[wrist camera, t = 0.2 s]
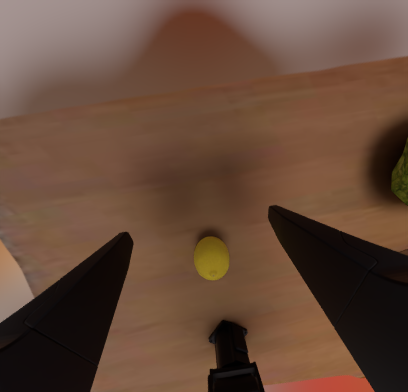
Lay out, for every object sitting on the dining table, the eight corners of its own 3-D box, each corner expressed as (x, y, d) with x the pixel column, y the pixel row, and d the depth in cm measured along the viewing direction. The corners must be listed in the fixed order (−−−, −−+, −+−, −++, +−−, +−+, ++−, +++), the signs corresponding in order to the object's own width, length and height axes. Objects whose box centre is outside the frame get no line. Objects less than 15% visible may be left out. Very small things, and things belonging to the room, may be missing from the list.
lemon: (216, 223, 26) (223, 250, 18) (229, 247, 27) (241, 282, 20) (189, 236, 27) (184, 269, 19) (203, 259, 28) (204, 298, 20)
